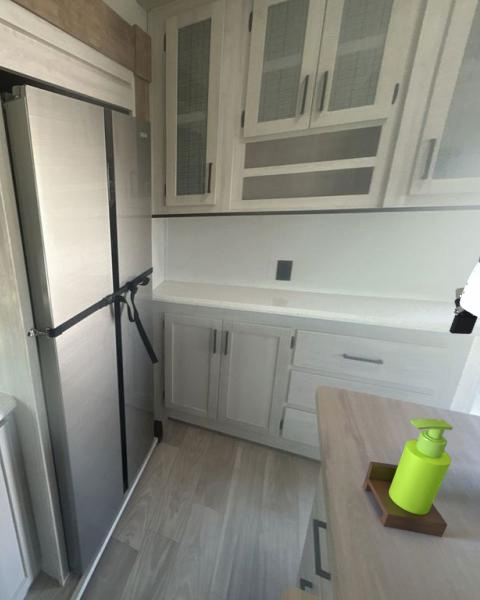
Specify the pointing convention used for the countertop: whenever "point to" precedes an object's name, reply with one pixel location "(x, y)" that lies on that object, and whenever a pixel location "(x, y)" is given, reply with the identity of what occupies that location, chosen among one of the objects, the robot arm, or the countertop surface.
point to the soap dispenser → (421, 467)
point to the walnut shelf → (394, 515)
